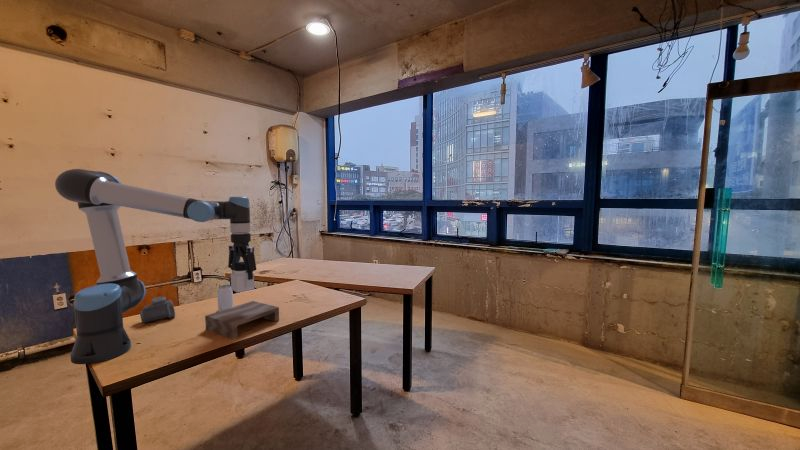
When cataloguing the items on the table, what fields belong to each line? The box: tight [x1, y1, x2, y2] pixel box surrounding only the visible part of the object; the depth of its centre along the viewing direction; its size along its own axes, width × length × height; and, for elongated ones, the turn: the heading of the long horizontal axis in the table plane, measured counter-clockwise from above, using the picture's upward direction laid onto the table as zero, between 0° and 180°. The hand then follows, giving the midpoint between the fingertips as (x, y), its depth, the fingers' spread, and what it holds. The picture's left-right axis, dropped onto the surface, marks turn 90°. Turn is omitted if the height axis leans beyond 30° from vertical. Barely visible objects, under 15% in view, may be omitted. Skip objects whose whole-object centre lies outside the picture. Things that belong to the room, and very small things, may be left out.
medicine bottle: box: [230, 260, 255, 293], centre depth 132 cm, size 7×7×12 cm
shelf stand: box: [204, 300, 280, 340], centre depth 133 cm, size 18×22×6 cm
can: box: [216, 284, 234, 312], centre depth 151 cm, size 6×6×12 cm
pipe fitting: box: [139, 296, 176, 324], centre depth 138 cm, size 12×8×10 cm, turn 133°
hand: (242, 285), depth 132 cm, fingers closed on medicine bottle, 8 cm apart
